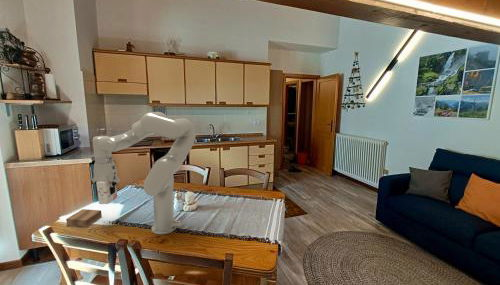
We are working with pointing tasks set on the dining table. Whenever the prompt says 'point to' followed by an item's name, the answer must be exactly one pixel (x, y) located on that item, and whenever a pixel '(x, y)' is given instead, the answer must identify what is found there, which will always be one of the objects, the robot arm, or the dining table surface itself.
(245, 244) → the dining table surface
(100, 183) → the ink cartridge box
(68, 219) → the walnut block
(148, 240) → the dining table surface
